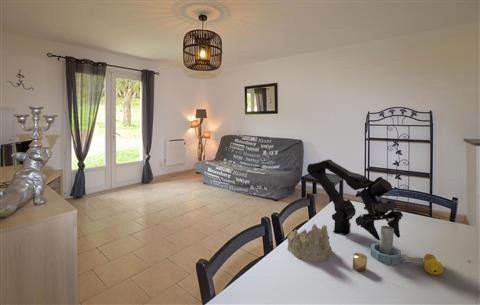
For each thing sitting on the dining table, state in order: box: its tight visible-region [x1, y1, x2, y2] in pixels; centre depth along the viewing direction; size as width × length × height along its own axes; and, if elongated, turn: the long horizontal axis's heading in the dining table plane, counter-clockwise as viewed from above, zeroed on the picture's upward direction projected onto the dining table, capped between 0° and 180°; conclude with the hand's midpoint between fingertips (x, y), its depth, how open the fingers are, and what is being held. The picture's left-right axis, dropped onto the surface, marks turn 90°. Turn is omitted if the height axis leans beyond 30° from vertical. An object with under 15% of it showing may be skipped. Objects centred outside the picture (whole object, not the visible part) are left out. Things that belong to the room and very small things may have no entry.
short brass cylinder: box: [352, 252, 368, 274], centre depth 94 cm, size 5×5×5 cm
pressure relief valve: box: [401, 253, 444, 276], centre depth 94 cm, size 6×12×10 cm
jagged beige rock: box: [286, 223, 333, 263], centre depth 106 cm, size 16×16×15 cm
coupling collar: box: [369, 242, 402, 265], centre depth 102 cm, size 10×10×3 cm
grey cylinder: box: [378, 225, 395, 256], centre depth 101 cm, size 4×4×12 cm
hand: (389, 238), depth 100 cm, fingers open, 9 cm apart
